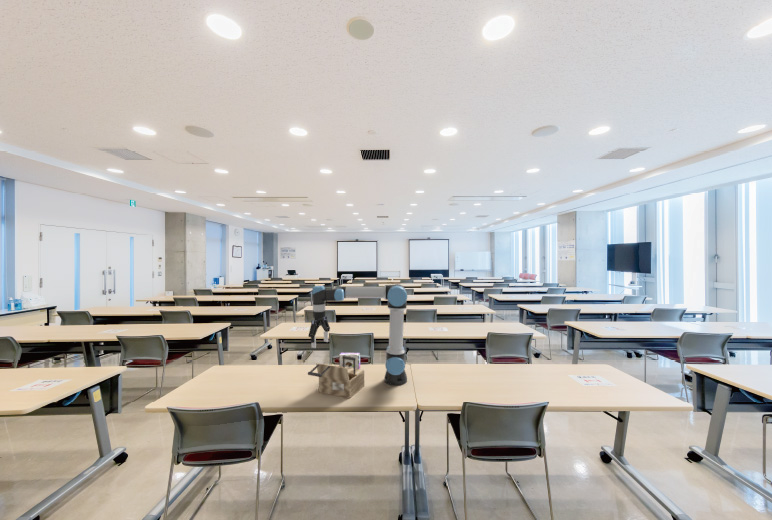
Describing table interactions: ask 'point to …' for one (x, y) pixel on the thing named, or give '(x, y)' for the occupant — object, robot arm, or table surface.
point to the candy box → (350, 362)
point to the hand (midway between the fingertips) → (320, 344)
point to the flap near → (330, 372)
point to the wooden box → (342, 385)
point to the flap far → (351, 370)
